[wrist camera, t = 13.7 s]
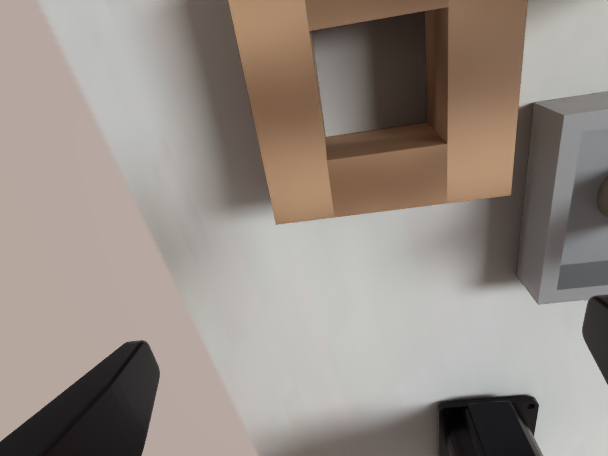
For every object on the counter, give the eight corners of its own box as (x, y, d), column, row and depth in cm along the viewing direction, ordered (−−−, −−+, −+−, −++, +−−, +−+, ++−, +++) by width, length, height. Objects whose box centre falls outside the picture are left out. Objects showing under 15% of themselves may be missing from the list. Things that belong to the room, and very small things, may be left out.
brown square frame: (481, 166, 20) (510, 195, 17) (282, 193, 21) (275, 224, 18) (493, -82, 15) (536, -105, 12) (237, -32, 16) (219, -42, 13)
